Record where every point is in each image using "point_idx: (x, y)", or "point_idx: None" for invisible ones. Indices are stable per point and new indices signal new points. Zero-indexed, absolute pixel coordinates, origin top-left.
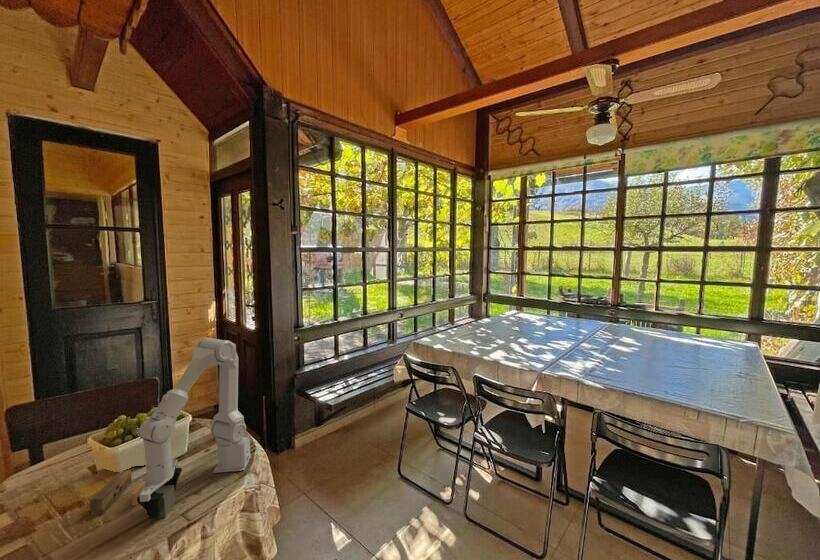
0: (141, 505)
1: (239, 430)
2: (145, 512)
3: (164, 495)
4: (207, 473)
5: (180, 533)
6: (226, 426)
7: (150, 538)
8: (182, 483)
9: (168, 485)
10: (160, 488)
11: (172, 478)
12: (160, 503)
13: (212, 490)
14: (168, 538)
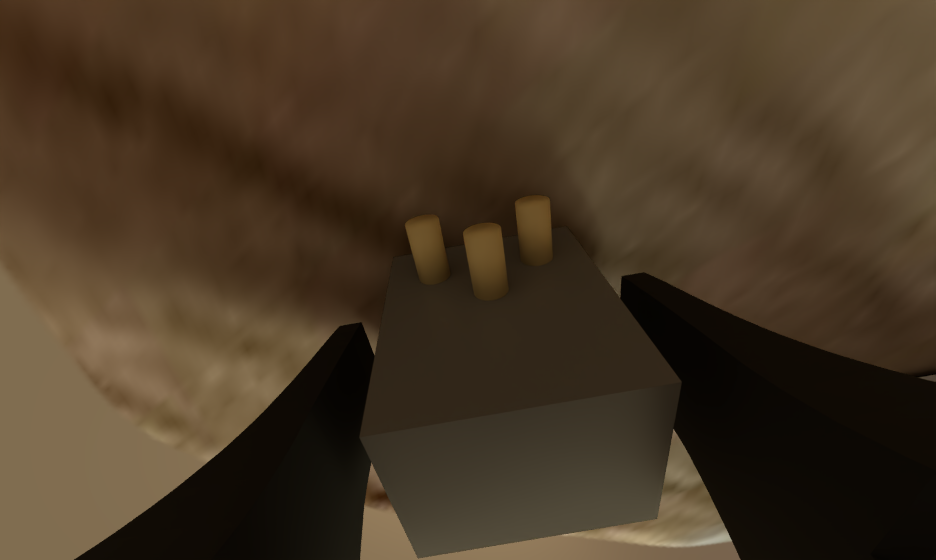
0: (166, 499)
1: None
2: (406, 230)
3: (450, 547)
4: (910, 342)
5: None
6: None
7: (232, 389)
8: (857, 226)
9: (655, 481)
10: (603, 439)
11: (765, 543)
12: (359, 526)
13: (674, 457)
14: None
